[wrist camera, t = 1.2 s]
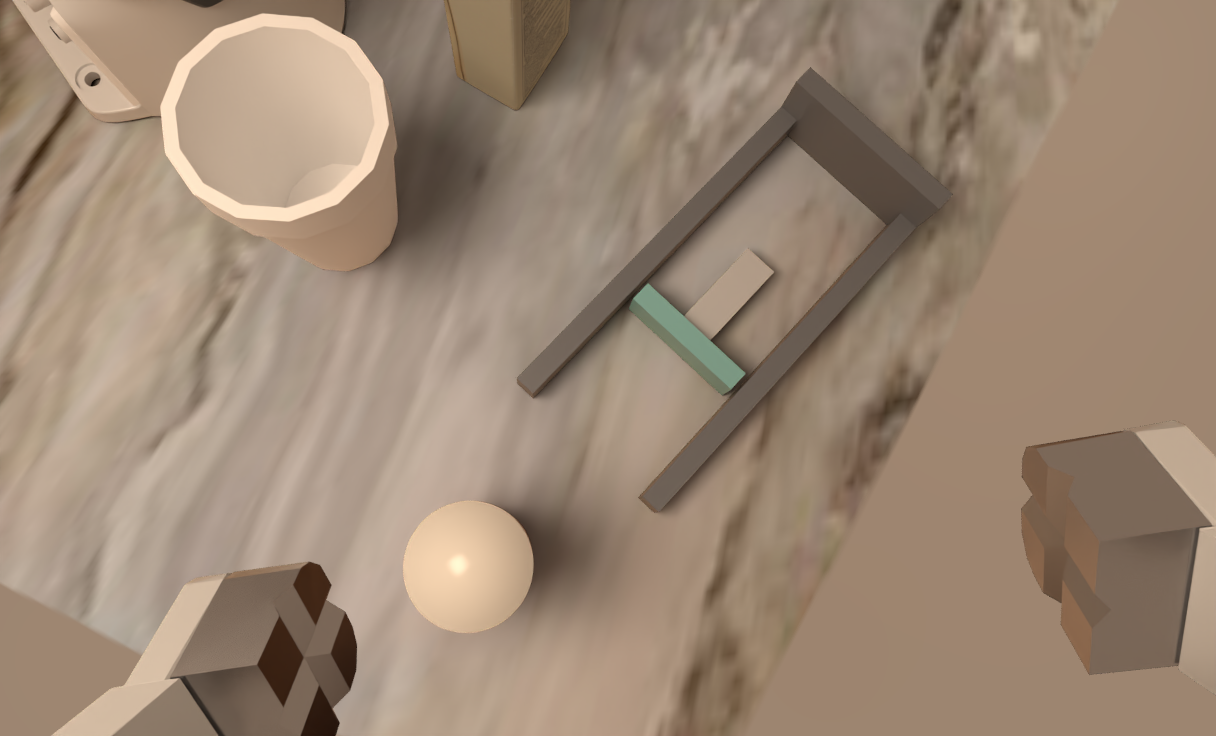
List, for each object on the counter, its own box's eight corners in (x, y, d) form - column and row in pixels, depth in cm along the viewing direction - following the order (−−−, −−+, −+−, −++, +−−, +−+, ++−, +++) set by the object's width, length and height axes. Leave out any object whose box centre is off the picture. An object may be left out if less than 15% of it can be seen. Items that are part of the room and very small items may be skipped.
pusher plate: (721, 395, 50) (731, 389, 48) (628, 309, 51) (633, 298, 48) (801, 308, 52) (814, 298, 49) (709, 224, 52) (718, 210, 50)
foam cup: (391, 118, 52) (344, -14, 39) (450, 261, 51) (421, 173, 38) (232, 174, 51) (129, 56, 38) (288, 322, 49) (202, 253, 37)
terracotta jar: (412, 558, 48) (375, 569, 37) (482, 484, 49) (467, 474, 38) (484, 629, 47) (469, 661, 37) (554, 553, 48) (560, 562, 38)
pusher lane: (654, 512, 49) (667, 511, 44) (517, 383, 50) (515, 368, 45) (914, 224, 53) (952, 194, 48) (785, 108, 54) (810, 67, 49)
